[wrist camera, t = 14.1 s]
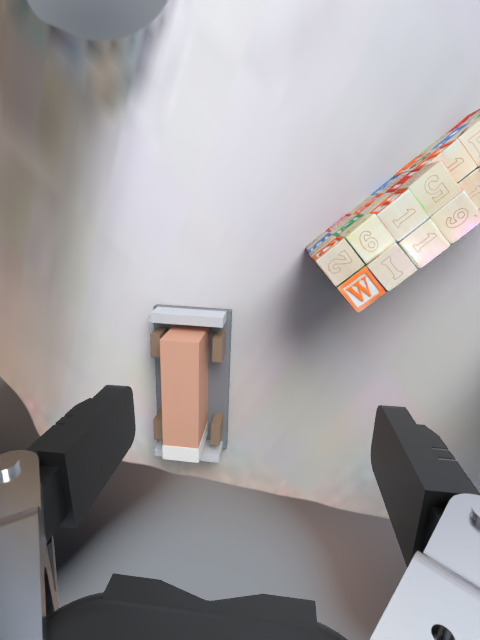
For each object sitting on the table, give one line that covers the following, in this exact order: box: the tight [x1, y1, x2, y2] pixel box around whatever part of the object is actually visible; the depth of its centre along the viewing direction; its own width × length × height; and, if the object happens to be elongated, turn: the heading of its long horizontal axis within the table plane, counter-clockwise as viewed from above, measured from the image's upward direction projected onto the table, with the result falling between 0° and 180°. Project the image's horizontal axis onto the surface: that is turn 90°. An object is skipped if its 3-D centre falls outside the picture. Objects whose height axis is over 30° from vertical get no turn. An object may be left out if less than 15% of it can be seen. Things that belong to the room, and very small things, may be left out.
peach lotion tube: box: [160, 324, 209, 463], centre depth 44 cm, size 5×16×6 cm, turn 177°
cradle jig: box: [150, 305, 232, 463], centre depth 46 cm, size 10×20×4 cm, turn 177°
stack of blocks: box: [306, 109, 480, 313], centre depth 33 cm, size 21×6×12 cm, turn 131°
